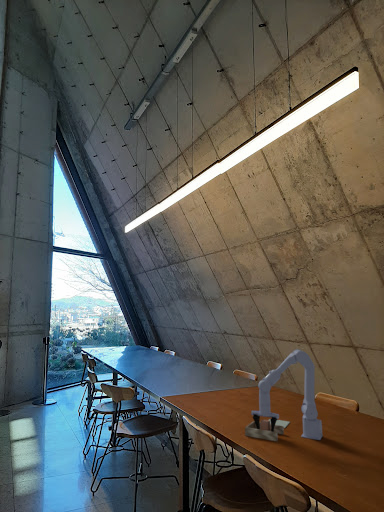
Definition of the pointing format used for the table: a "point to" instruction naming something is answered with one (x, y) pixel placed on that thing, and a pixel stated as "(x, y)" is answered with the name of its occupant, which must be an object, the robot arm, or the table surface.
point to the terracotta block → (265, 425)
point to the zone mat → (281, 423)
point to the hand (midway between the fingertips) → (265, 431)
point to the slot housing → (263, 432)
